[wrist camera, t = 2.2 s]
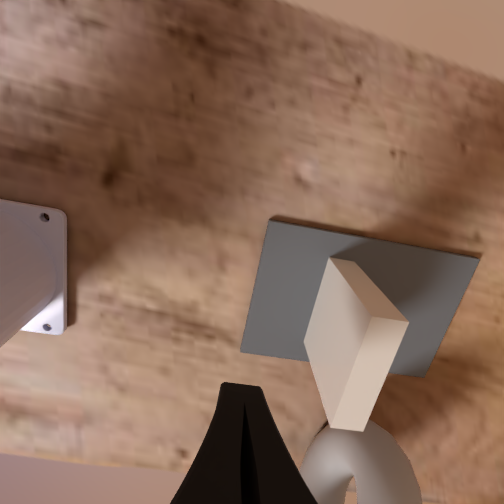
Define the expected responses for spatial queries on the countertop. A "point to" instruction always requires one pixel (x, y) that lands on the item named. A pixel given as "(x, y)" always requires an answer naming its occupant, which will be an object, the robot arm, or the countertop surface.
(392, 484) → the donut
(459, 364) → the countertop surface
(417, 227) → the countertop surface
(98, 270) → the countertop surface
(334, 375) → the tile
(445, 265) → the mat
